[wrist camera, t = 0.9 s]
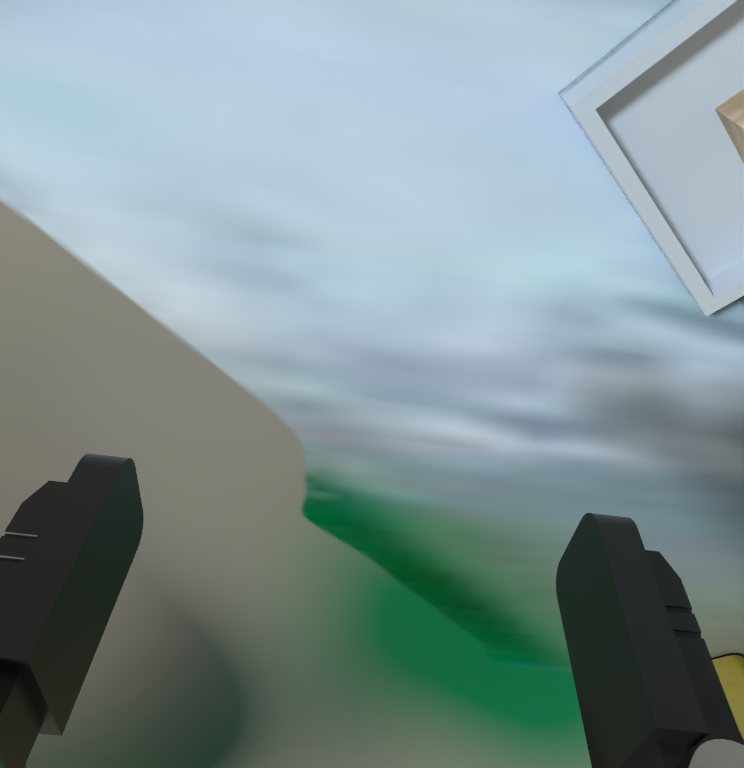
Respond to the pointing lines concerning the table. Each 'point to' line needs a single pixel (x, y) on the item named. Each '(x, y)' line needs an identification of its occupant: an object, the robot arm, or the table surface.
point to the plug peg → (734, 120)
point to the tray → (676, 138)
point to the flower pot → (733, 685)
